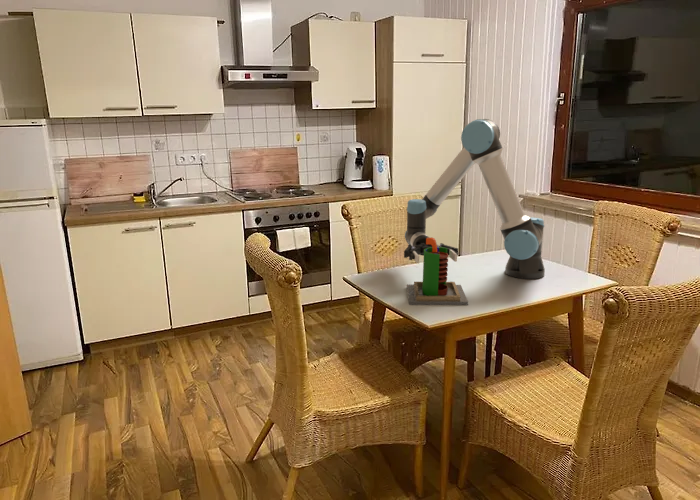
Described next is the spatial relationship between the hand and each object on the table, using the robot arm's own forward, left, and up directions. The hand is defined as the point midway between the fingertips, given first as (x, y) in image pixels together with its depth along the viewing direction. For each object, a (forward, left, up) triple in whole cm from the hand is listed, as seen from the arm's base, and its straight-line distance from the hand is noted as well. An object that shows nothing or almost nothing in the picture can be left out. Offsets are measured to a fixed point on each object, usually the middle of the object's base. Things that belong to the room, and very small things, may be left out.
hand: (437, 258), depth 185 cm
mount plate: (0, -1, -14) cm, 14 cm away
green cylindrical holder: (0, -1, -13) cm, 13 cm away
